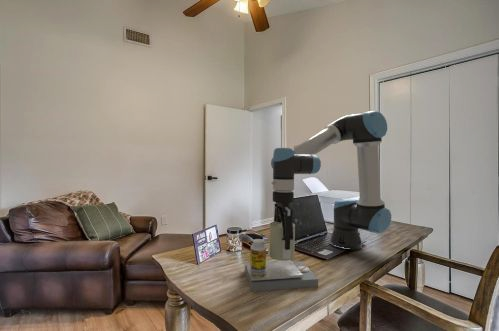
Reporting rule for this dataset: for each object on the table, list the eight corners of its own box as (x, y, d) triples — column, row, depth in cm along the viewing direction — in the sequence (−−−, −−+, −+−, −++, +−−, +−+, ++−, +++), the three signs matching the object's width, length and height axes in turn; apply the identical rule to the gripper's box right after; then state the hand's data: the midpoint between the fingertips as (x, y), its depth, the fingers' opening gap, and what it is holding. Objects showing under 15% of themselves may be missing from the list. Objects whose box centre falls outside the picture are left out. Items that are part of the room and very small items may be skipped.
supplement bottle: (249, 271, 87) (249, 242, 87) (251, 265, 93) (251, 237, 92) (265, 273, 86) (265, 243, 86) (266, 266, 92) (266, 238, 92)
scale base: (301, 267, 100) (301, 259, 100) (318, 286, 85) (318, 277, 85) (244, 271, 96) (244, 263, 96) (251, 291, 81) (251, 282, 81)
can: (294, 262, 85) (295, 226, 85) (267, 259, 87) (268, 225, 87) (295, 252, 94) (295, 220, 94) (270, 250, 96) (271, 219, 96)
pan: (290, 261, 98) (290, 259, 98) (302, 277, 85) (302, 274, 85) (245, 264, 95) (245, 262, 95) (251, 280, 82) (251, 278, 82)
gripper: (266, 187, 100) (265, 243, 101) (282, 195, 79) (280, 266, 79) (284, 187, 102) (283, 242, 102) (304, 194, 80) (303, 264, 81)
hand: (282, 253), depth 91 cm, fingers closed on can, 9 cm apart
